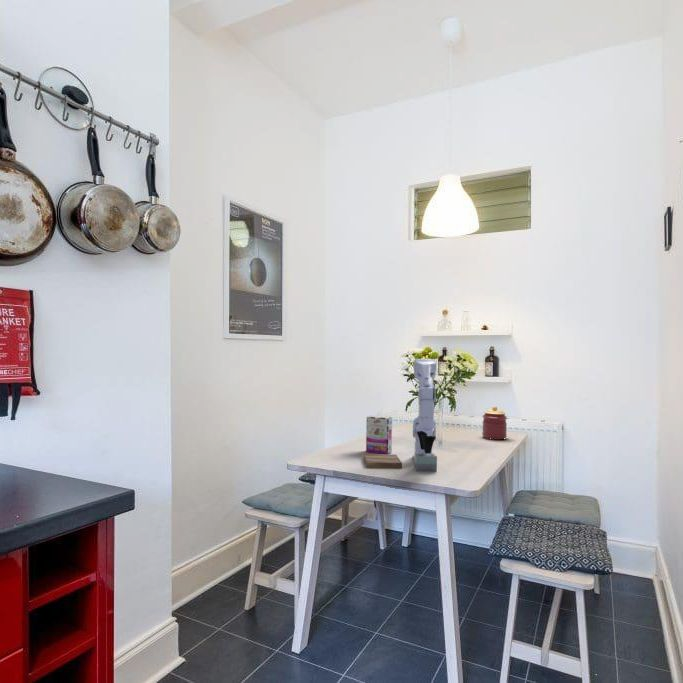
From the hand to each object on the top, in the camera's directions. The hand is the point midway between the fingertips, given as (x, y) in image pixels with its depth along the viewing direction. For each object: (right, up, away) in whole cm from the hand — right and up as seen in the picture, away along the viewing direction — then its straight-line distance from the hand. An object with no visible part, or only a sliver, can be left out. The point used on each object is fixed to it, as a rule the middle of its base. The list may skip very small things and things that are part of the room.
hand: (425, 451), depth 194 cm
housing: (0, -7, 0) cm, 7 cm away
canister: (+51, -10, +76) cm, 92 cm away
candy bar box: (-16, -8, +31) cm, 36 cm away
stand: (-16, -7, +9) cm, 20 cm away
